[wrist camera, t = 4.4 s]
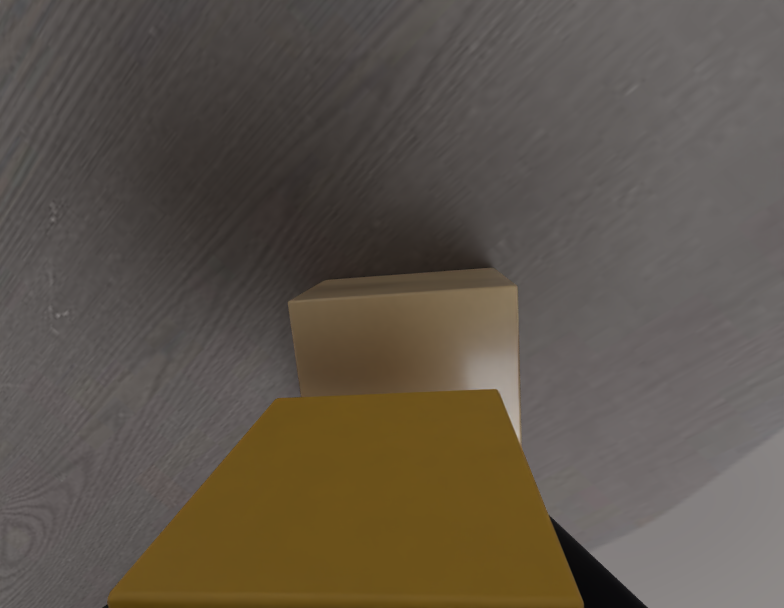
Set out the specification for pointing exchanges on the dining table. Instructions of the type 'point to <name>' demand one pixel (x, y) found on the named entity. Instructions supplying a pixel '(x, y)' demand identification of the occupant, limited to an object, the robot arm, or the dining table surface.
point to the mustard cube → (363, 514)
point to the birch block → (410, 335)
